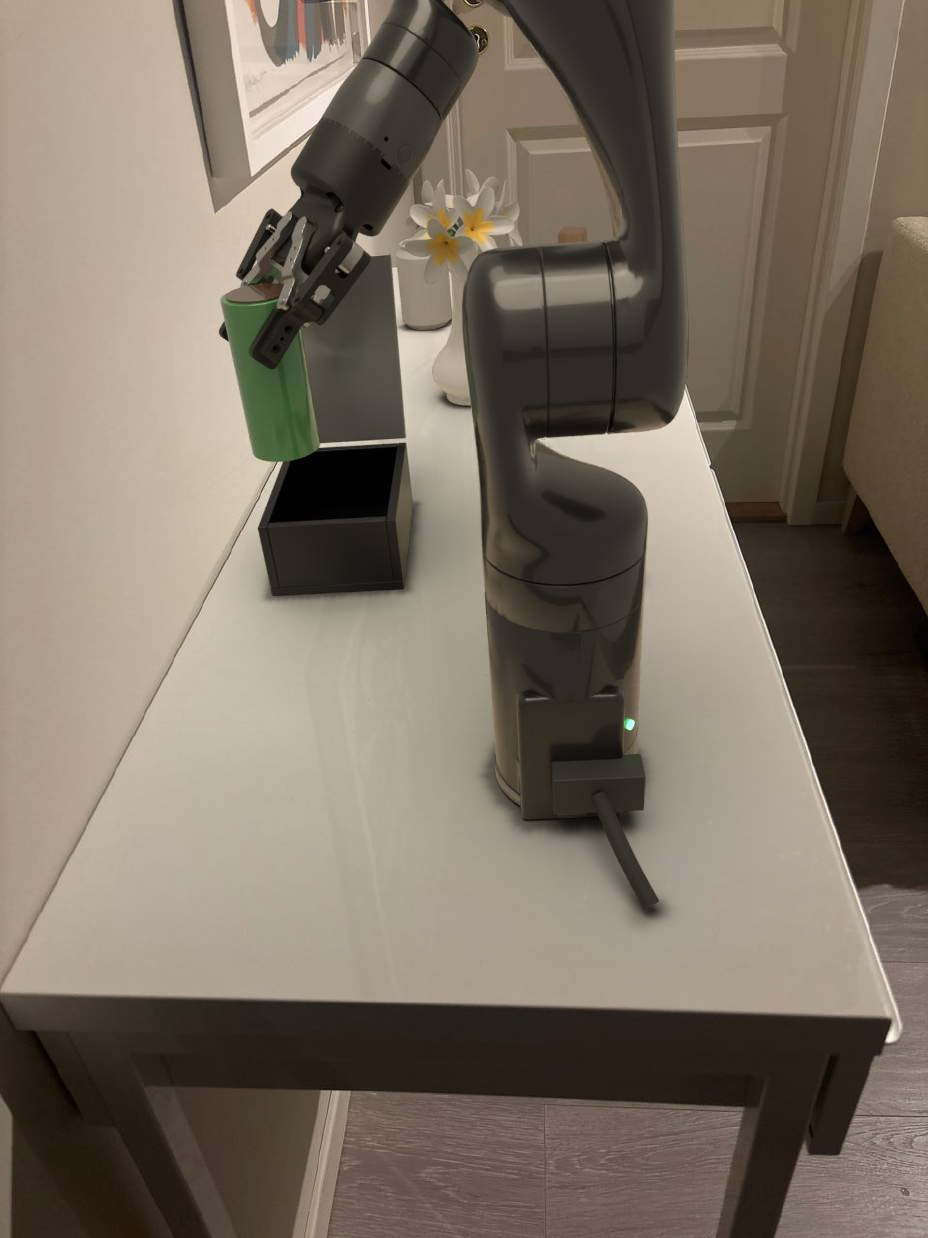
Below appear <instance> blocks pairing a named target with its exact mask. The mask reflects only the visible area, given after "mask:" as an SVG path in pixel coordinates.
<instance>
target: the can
mask: <svg viewBox="0 0 928 1238" xmlns="http://www.w3.org/2000/svg"><path fill="white" fill-rule="evenodd" d="M412 238H413V237H410V238H407V239H403V240H402V241H400V242H399V244H398V246H399V247H400V248H399V249H398V250H397V252H396V253H395V263H396V271H397V281H398V291H399V299H400V311H401V319H402V322H403V323H404V324H405V325H407V326H408V327H409V328H410V329H412V330H417V331H429V330H430V331H431V330H436V329H440V328H442V327H445V326H446V325H447V324H448V322H450V320H452V318H453V306H452V292H451V281H450V279H451V278H450V272H449V270H448V267H447V264H446V267H445V270H444V272H443V274H442V276H441V277H440V279H439V280H438V281H437V282H436V283H434V284H431V285H429V284H427V283H425V281H424V277H423V272H424V268H425V265H426V263H427V261H428V259H429V257H430V256H431V255H432V254H431V255H429V256H427V257H417V256H414V255H412V254H410V253H408V252H407V251H406V249H405V244H406V243H407V242H409V241H411V239H412Z"/></svg>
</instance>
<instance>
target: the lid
mask: <svg viewBox="0 0 928 1238" xmlns="http://www.w3.org/2000/svg"><path fill="white" fill-rule="evenodd" d="M370 256H371V260H370V263H369V264H368V266H367V267H366V269H365V270H364V271H363V273H362V274H361V275H360V277H359V278H358V279H357V281H356V282H355V283H354V285H353V286H352V287H351V289H350V290H349V291H348V293H347V294H346V295H345V297H344V298H343V299H342V301H341V302H340V303H339V305H338V306H337V307H336V309H335V310H334V311H333V313H332V314H331V315H330V317H329V318H328V319H327V321H326V322H325V323H324V324H323V325H321V326H319V325H317V324H316V323H315V322H311V324H310V325H309V326H308V327H306V328H304V327H302V326H301V330H302V336H303V341H304V347H305V353H306V359H307V365H308V371H309V377H310V383H311V389H312V395H313V401H314V407H315V413H316V419H317V425H318V431H319V437H320V444H331V443H351V442H366V441H384V440H397V439H398V440H400V439H401V440H402V439H406V438H407V429H406V419H405V408H404V407H405V406H404V396H403V395H404V393H403V382H402V381H403V380H402V372H401V371H402V370H401V359H400V346H399V345H400V344H399V336H398V321H397V312H396V311H397V310H396V298H395V288H394V286H395V285H394V274H393V264H392V262H393V261H392V254H388V253H387V254H374V255H370ZM337 273H340V272H339V271H337ZM275 280H276V279H275V278H274V280H273V282H272V283H274V281H275ZM297 292H298V289H297ZM297 292H296V293H297ZM324 300H325V299H322V300H320V302H319V304H320V305H321V304H322V302H323V301H324Z"/></svg>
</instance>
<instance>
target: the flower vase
mask: <svg viewBox="0 0 928 1238" xmlns="http://www.w3.org/2000/svg"><path fill="white" fill-rule="evenodd" d="M464 175H465V178H466V182H467V185H468V188H469V192H467V194H466V198H465V197H464V196H462V195H459V194H458V195H452V194H446V189H445V180H444V179H445V178H443V179H441V180H440V181H439V182H438V184H437V187H436V188H435V191H434V189H433V186H432V183H431V181H429V180H428V179H427V180H425V181H424V182H423V184H422V188H421V201H422V204H420V203H415V204H413V205H412V206H411V207H410V209H409V215H408V216H407V218H405V219H406V220H405V225H406V226H408V227H415V226H418V228H417V229H416V230H415V231H414V234H413V236H412V237H411V238H412V239H411V241H409V242H407V243H406V244H405V249H406V251H407V252H408V253H410V254H412V255H414V256H417V257H427V256H429V255H431V254H432V255H431V256H430V257H429V259H428V261H427V263H426V265H425V268H424V272H423V277H424V281H425V283H427V284H429V285H431V284H434V283H436V282H437V281H438V280H439V279H440V277H441V276H442V274H443V272H444V270H445V267H446V264H447V267H448V270H449V274H450V277H451V278H450V279H451V281H450V282H451V306H452V318H451V320H452V321H451V327H450V333H449V336H448V338H447V341H446V344H445V345H444V347H443V348H441V350H440V351H439V353H438V354H437V356H436V357H435V358H434V361H433V364H432V367H431V368H432V369H431V377H432V380H433V382H434V383H435V385H436V386H437V387H438V388H439V389H440V390H441V391H442V392H443V393H445V394H446V399H447V400H448V401H449V403H452V404H454V405H458V406H467V407H469V406H470V407H471V403H470V395H469V387H468V380H467V372H466V365H465V355H464V344H463V334H462V297H463V288H464V282H465V279H466V275H467V272H468V269H469V267H470V265H471V263H472V262H473V260H474V258H475V257H477V256H478V255H479V253H478V252H479V250H480V251H481V253H482V252H484V251H486V250H490V249H495V248H498V246H497V243H496V241H495V239H494V238H493V237H492V236H503V237H504V238H505V240H506V241H507V243H508V244H509V247H512V246H515V244H516V246H524V243H523V239H522V237H521V234H520V232H519V230H518V229H517V227H516V226H515V222H517V220H518V219H519V216H520V211H521V209H520V204H519V202H518V201H517V200H513V201H511V202H509V197H510V189H509V182H508V180H507V179H505V180H504V183H503V187H502V191H501V195H500V199H499V201H495V200H496V199H497V197H498V195H499V193H500V190H501V189H500V182H499V180H498V179H497V178H496V177H495V176H489V177H487V178H486V179H485V181H484V182H483V184H482V186H481V187H480V182H479V180H478V178H477V177H476V175H475V174H474V173H473V172H472V171H471V170H470V169H468V168H466V169H465V171H464ZM508 202H509V204H508ZM457 223H458V224H457ZM453 228H454V229H453Z"/></svg>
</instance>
